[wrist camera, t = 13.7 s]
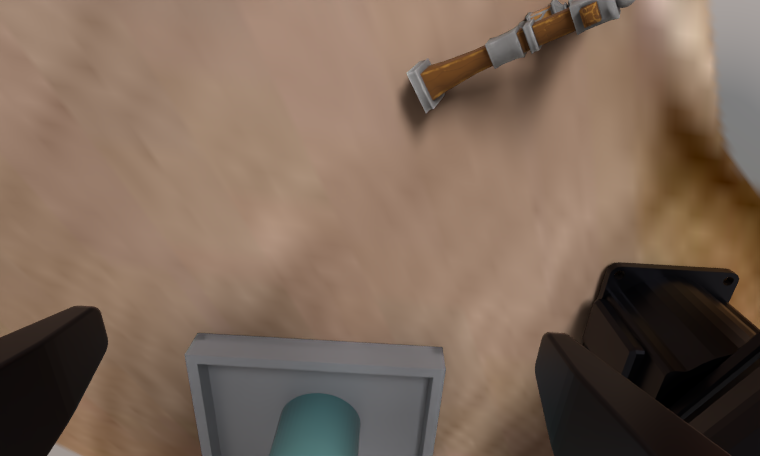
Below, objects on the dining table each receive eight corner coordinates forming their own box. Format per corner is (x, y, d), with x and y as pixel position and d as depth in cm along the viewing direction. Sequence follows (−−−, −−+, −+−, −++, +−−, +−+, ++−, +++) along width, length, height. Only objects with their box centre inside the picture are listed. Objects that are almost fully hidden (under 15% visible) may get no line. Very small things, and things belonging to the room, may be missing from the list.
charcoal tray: (442, 347, 26) (445, 369, 24) (422, 484, 31) (424, 510, 29) (197, 333, 26) (184, 354, 24) (219, 472, 31) (209, 498, 29)
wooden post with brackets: (639, -4, 17) (645, 23, 14) (453, 80, 22) (424, 115, 18) (626, -52, 16) (630, -37, 13) (437, 45, 21) (404, 74, 18)
